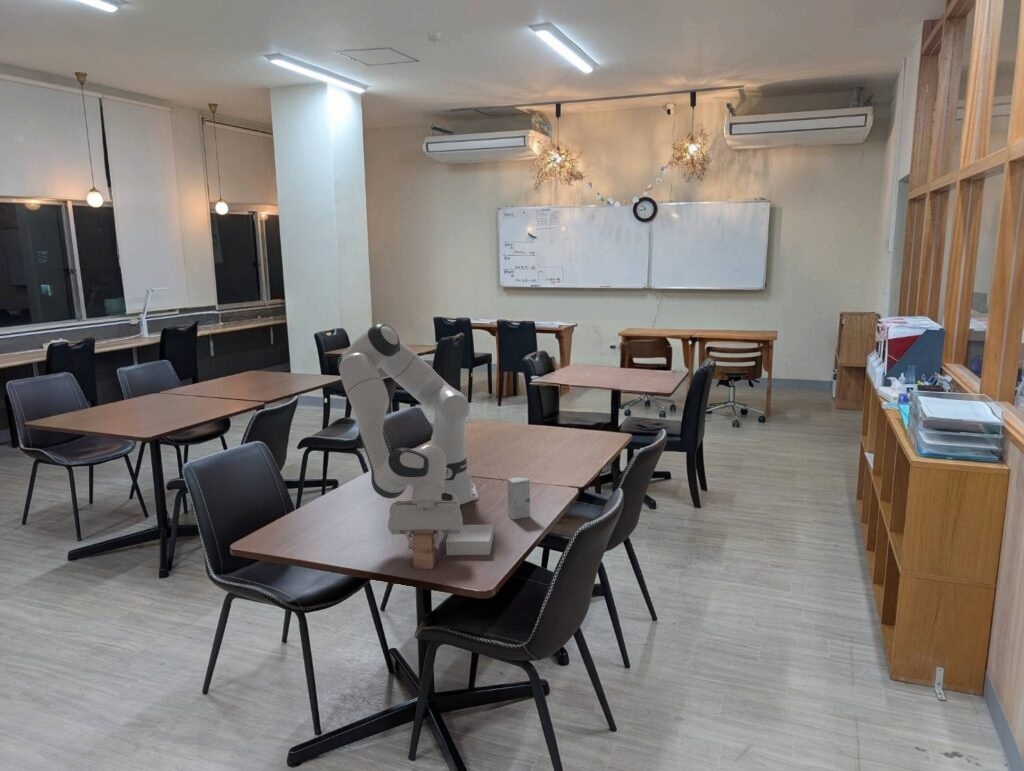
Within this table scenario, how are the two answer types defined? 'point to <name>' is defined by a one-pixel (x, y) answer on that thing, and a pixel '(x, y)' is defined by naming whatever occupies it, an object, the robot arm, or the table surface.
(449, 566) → the table surface
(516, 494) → the skincare box
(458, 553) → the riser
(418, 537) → the terracotta block
